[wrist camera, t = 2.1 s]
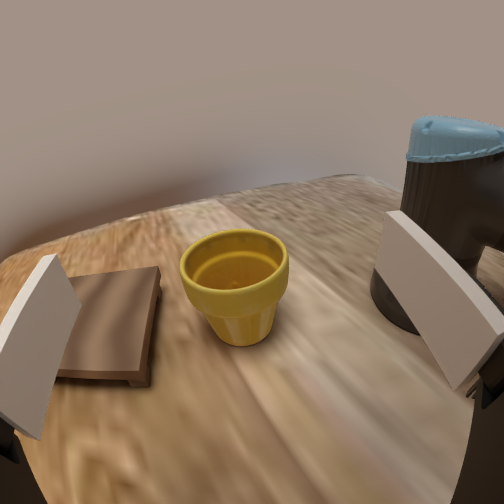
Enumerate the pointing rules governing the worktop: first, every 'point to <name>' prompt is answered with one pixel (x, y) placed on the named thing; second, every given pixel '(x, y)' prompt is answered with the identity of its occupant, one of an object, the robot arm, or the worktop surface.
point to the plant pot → (236, 282)
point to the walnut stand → (113, 326)
